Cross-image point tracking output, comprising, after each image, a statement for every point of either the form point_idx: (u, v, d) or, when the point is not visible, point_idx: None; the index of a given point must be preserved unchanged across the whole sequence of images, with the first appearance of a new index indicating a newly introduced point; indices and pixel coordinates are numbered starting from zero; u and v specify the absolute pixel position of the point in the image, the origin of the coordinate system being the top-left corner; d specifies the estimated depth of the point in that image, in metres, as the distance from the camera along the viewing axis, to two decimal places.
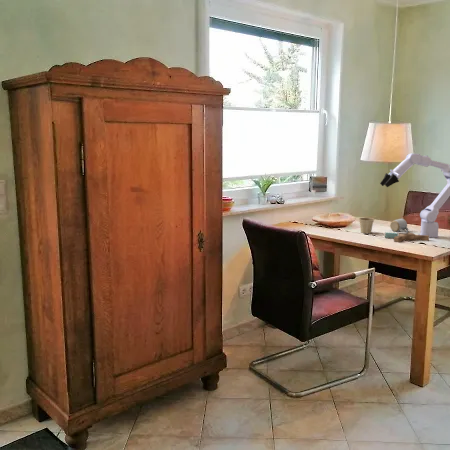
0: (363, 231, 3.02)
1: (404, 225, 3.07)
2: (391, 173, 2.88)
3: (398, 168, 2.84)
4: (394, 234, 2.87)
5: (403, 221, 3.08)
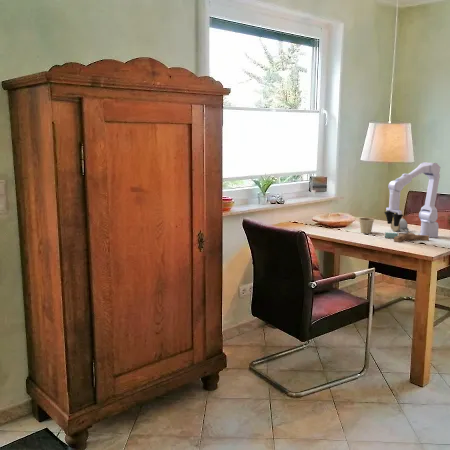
0: (363, 231, 3.02)
1: (404, 225, 3.07)
2: None
3: (392, 204, 2.79)
4: (394, 234, 2.87)
5: (403, 221, 3.08)
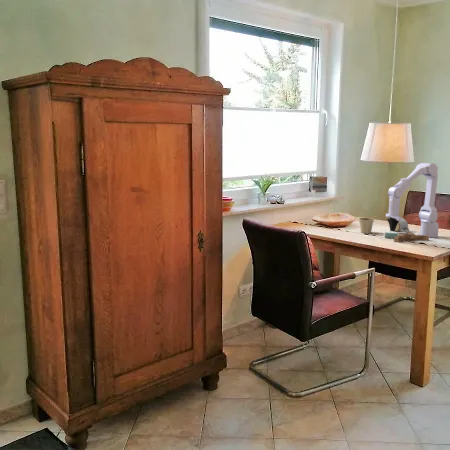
0: (363, 231, 3.02)
1: (405, 225, 3.07)
2: None
3: (392, 210, 2.80)
4: (394, 234, 2.87)
5: (404, 221, 3.07)
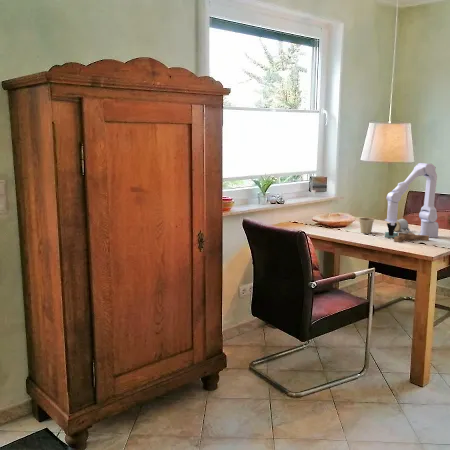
0: (363, 231, 3.02)
1: (405, 225, 3.06)
2: None
3: (388, 215, 2.85)
4: (394, 234, 2.88)
5: (404, 221, 3.07)
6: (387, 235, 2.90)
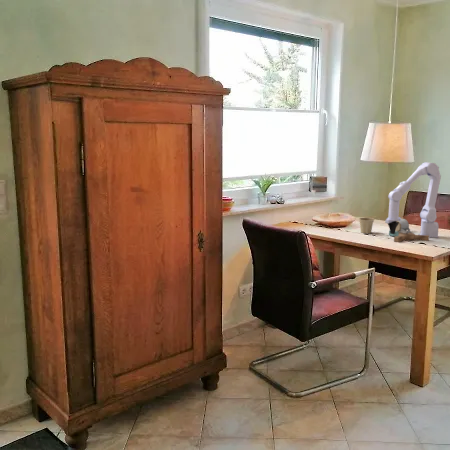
0: (363, 231, 3.02)
1: (406, 225, 3.06)
2: None
3: None
4: (396, 233, 2.91)
5: (405, 221, 3.07)
6: None
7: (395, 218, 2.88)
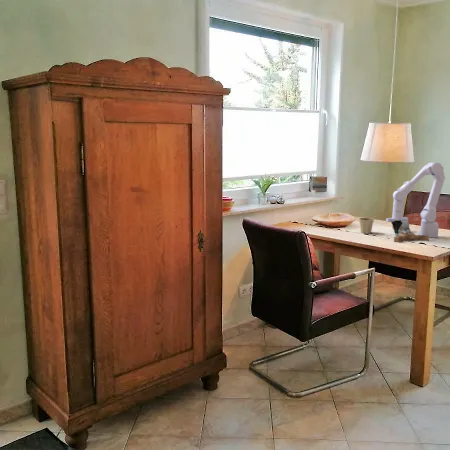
0: (363, 231, 3.02)
1: (406, 225, 3.06)
2: None
3: None
4: (399, 232, 2.93)
5: (405, 221, 3.06)
6: (395, 233, 2.96)
7: (397, 217, 2.90)
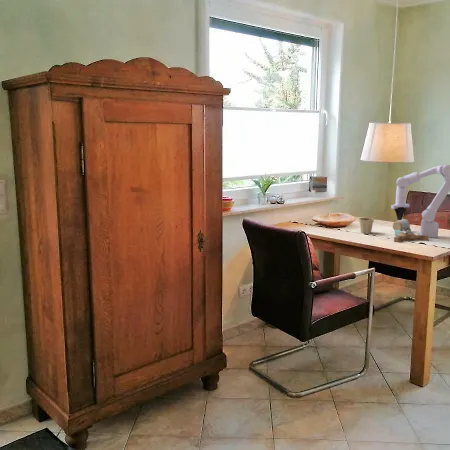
0: (363, 231, 3.02)
1: (407, 226, 3.05)
2: None
3: None
4: (399, 232, 2.93)
5: (406, 222, 3.06)
6: (395, 233, 2.96)
7: (401, 204, 2.92)
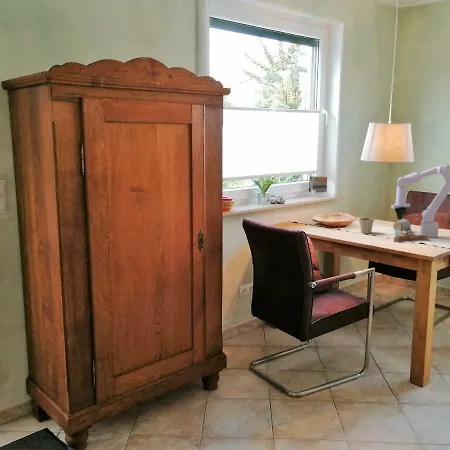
0: (363, 231, 3.02)
1: (407, 226, 3.05)
2: None
3: (396, 199, 2.95)
4: (399, 232, 2.93)
5: (406, 222, 3.06)
6: (395, 233, 2.96)
7: (402, 204, 2.92)
